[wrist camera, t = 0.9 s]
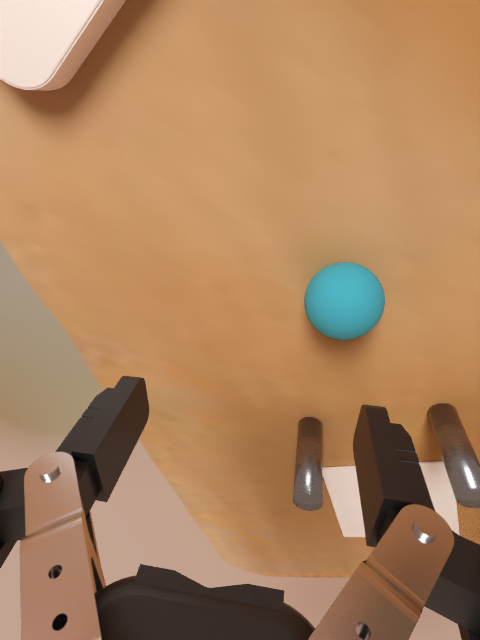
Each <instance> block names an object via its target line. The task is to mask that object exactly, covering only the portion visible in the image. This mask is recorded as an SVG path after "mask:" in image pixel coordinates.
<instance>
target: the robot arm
mask: <svg viewBox="0 0 480 640" xmlns="http://www.w3.org/2000/svg"><path fill="white" fill-rule="evenodd" d="M148 416H149V404H148V397H147V391H146V384H145V380H144V378H139V377H130V376H123V377H121V379H120V380H119V382H118V383H117V385H116V386H115V387H114V388H107V389H105V390H104V391H103V392H101V393H100V394H99V395H97V396H96V397H95V398H94V400H93V401H92V402H91V404H90V405H89V407H88V409H86V411H85V412H84V413H83V415H82V418H80V419H79V420H78V422H77V423H76V424H75V426H74V427H73V428H72V430H71V431H70V433H69V434H68V436H67V437H66V438H65V440H64V441H63V442H62V444H61V445H60V446H59V448H58V449H57V450H56V452H52V453H49V454H46V455H44V456H42V457H40V458H39V459H37V460H36V461H34V462H33V463H32V464H31V465H30V466H29V468H23V469H17V470H9V471H3V472H0V568H1V566H2V565H3V563H4V561H5V560H6V558H7V556H8V555H9V553H10V552H11V550H12V548H13V546H14V545H15V543H16V542H17V540H21V541H20V594H21V595H20V597H21V640H408V639H409V638H410V635H411V633H412V631H413V629H414V627H415V625H416V623H417V621H418V619H419V617H420V615H421V613H422V609H423V607H424V606H425V607H427V608H429V609H431V610H433V611H435V612H436V613H438V614H440V615H442V616H444V617H446V618H448V619H450V620H451V621H453V622H455V623H457V624H458V626H459V630H460V634H461V638H462V640H480V545H479V544H477V543H474V542H472V541H470V540H468V539H465V538H463V537H461V536H460V535H458V534H457V533H455V532H454V531H452V530H451V528H450V526H449V525H448V523H447V522H446V521H445V520H444V519H443V518H442V517H441V516H440V515H439V514H438V513H437V512H436V511H435V509H434V506H433V503H432V500H431V497H430V494H429V491H428V488H427V485H426V482H425V479H424V476H423V472H422V469H421V466H420V465H419V460H418V457H417V454H416V453H415V448H414V445H413V442H412V439H411V436H410V435H409V434H408V433H407V431H406V430H405V429H404V428H403V427H402V425H401V424H394V423H390V420H389V417H388V413H387V410H386V408H385V407H379V406H371V405H362V407H361V410H360V414H359V418H358V422H357V426H356V430H355V434H354V440H353V452H354V459H355V466H356V473H357V480H358V487H359V494H360V501H361V508H362V515H363V522H364V529H365V536H366V543H367V546H371V547H375V549H374V550H373V552H372V553H371V555H370V556H369V557H368V559H367V560H366V561H363V562H362V563H361V564H360V565H359V566H358V568H357V569H356V571H355V572H354V574H353V575H352V576H351V578H350V580H349V581H348V582H347V584H346V585H345V587H344V588H343V590H342V591H341V592H340V594H339V595H338V597H337V598H336V600H335V601H334V603H333V604H332V605H331V607H330V608H329V610H328V611H327V613H326V614H325V616H324V617H323V619H322V620H321V622H320V623H319V624H318V626H317V628H316V629H315V628H314V627H313V625H312V624H311V623H310V622H309V621H308V620H307V619H306V618H305V617H304V616H303V615H302V614H301V613H299V612H298V611H297V610H295V609H294V608H292V607H291V606H289V605H287V604H285V603H284V602H283V601H284V591H283V590H278V589H272V588H267V587H262V586H256V585H251V584H242V585H233V586H225V587H216V588H207V587H204V586H202V585H201V584H199V583H197V582H195V581H193V580H191V579H189V578H188V577H186V576H184V575H182V574H180V573H178V572H176V571H174V570H169V569H164V568H158V567H153V566H147V565H142V564H140V567H139V569H138V572H137V575H136V576H131V577H127V578H124V579H121V580H119V581H116V582H114V583H112V584H110V585H108V586H106V583H105V580H104V576H103V572H102V568H101V564H100V558H99V553H98V548H97V543H96V537H95V532H94V527H93V522H92V517H91V513H90V509H91V507H92V505H93V504H94V502H95V500H98V501H105V502H107V501H108V499H109V497H110V495H111V493H112V491H113V489H114V487H115V485H116V483H117V481H118V479H119V477H120V475H121V473H122V471H123V469H124V467H125V465H126V463H127V461H128V459H129V457H130V455H131V453H132V451H133V449H134V447H135V445H136V443H137V441H138V439H139V437H140V435H141V433H142V431H143V429H144V427H145V425H146V423H147V420H148Z"/></svg>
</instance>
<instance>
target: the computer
mask: <svg viewBox="0 0 480 640" xmlns="http://www.w3.org/2000/svg"><path fill="white" fill-rule="evenodd" d="M125 1H126V0H0V79H1V80H3V81H4V82H6V83H7V84H9V85H11V86H14V87H16V88H20V89H24V90H45V91H48V90H56V89H59V88H61V87H63V86H65V85H66V84H67V83H68V82H69V81H71V79H72V78H73V76H74V75H75V73H76V72H77V71H78V69H79V68H80V66H81V65H82V63H83V62H84V60H85V59H86V58H87V56H88V55H89V53H90V52H91V50H92V49H93V47H94V46H95V45H96V43H97V42H98V40H99V39H100V37H101V36H102V34H103V33H104V32H105V30H106V29H107V27H108V26H109V24H110V23H111V22H112V20H113V19H114V17H115V16H116V14H117V13H118V11H119V10H120V9H121V7H122V6H123V4H124V3H125Z"/></svg>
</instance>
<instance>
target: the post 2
mask: <svg viewBox="0 0 480 640" xmlns="http://www.w3.org/2000/svg"><path fill="white" fill-rule="evenodd" d="M427 415H428V418H429V421H430V424H431V427H432V430H433V433H434V436H435V439H436V442H437V445H438V448H439V451H440V454H441V457H442V460H443V463H444V466H445V469H446V472H447V475H448V478H449V481H450V484H451V487H452V490H453V493H454V496H455V499H456V501H457V502H458V503H459V504H460V505H462V506H465V507H469V508H480V464H479V461H478V459H477V457H476V454H475V452H474V450H473V448H472V445H471V443H470V441H469V438H468V436H467V434H466V431H465V429H464V427H463V425H462V422H461V420H460V418H459V415H458V413H457V411H456V409H455V408H454V407H453V406H452V405H449V404H437V405H434V406H432V407H431V408H430V409H429V410H428V413H427Z"/></svg>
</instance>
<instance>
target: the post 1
mask: <svg viewBox="0 0 480 640" xmlns="http://www.w3.org/2000/svg"><path fill="white" fill-rule="evenodd" d="M293 502H294V504H295V505H296V506H297V507H299V508H301V509H303V510H308V511H313V510H317V509H319V508H321V507H322V504H323V489H322V423H321V422H320V421H319V420H318V419H316V418H313V417H306V418H303V419H301V420H300V421H299V424H298V437H297V451H296V465H295V479H294V493H293Z"/></svg>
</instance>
